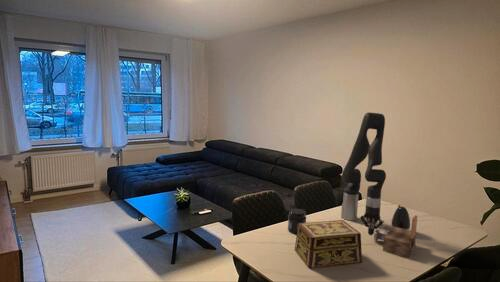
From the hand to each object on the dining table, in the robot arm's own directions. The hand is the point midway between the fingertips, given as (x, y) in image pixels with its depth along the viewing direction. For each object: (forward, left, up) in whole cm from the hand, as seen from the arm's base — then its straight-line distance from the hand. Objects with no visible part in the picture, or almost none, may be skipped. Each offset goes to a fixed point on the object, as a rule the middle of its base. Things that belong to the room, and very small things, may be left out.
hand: (370, 234), depth 177 cm
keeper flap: (+21, 0, +4) cm, 21 cm away
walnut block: (+15, 0, -3) cm, 15 cm away
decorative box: (-11, -33, -4) cm, 35 cm away
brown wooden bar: (+11, 0, -2) cm, 11 cm away
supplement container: (-38, -16, -3) cm, 41 cm away
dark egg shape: (+10, +24, -3) cm, 26 cm away
